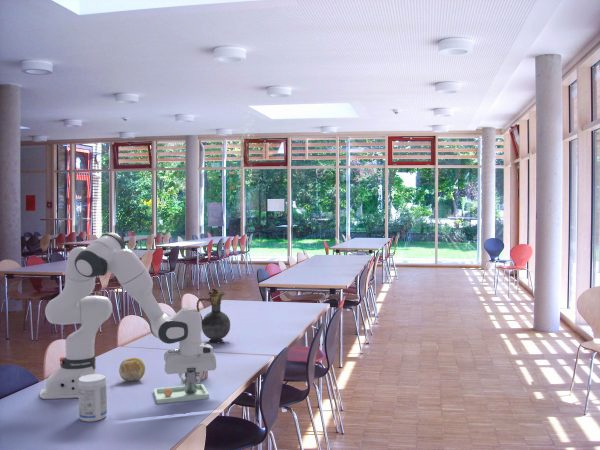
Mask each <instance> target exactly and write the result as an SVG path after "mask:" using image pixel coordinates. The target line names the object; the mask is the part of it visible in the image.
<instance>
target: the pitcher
mask: <svg viewBox="0 0 600 450" xmlns="http://www.w3.org/2000/svg"><path fill="white" fill-rule="evenodd" d="M211 290H212V292H211V291H208V293H207V294H208V296H209V297H208V298H207V297H200V298H198V299H197V302H196V310H198V311H199V312H200V308H199V306H200V305H199V304H200V302H202V301H204V302H209V303H210V305H211V311H210V312H207V314H205V316H204V317H203V316H202V315H201V322H202V331H201V332H202V333H203V335H204V336H205V337H206V338H208V342H209V343H211V344H220V343H223V342H224V339H223V338H225V337H227V336H228V334H229V332H230V329H231V319H230V318H229V316H228V315H227V314H226V313H224V312H222V311H221V304H222V302H221V300H222V297H223V296H227V295H228V294H227V293H226V292H223V291H220V292H219V290H218V289H215V288H211ZM200 313H201V312H200Z"/></svg>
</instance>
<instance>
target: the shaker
mask: <svg viewBox="0 0 600 450" xmlns="http://www.w3.org/2000/svg"><path fill="white" fill-rule="evenodd" d="M195 371H196V368H187V373H184V378H185V384H184V386H185V393H186V394H194V393H196V392H197V384H198V383H197V372H195Z"/></svg>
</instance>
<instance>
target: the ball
mask: <svg viewBox="0 0 600 450" xmlns="http://www.w3.org/2000/svg"><path fill="white" fill-rule="evenodd" d="M166 388H167V387H166ZM164 395H165V396H167V397H169V396H171V395H172V390H171V389H170V388H167V389H165V391H164Z"/></svg>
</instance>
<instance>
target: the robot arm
mask: <svg viewBox="0 0 600 450" xmlns="http://www.w3.org/2000/svg"><path fill="white" fill-rule="evenodd" d="M125 245H126V244H125V241H124V239H123V238H122V236H120V235H119V234H117V233H115V232H113V231H112V232H111V231H110V232H106V233H103V234H102V235H100V236H99V237H98V238H96V239H95V240H93V241H92V242H90V243H89V244H88V245H87V246H77V247H74V248H72V249H71V250H70V252H69V253H68V256H67V259H66V260H67V261H66V265H65V280H64V281H65V282H64V287H63V289H62V290H61V292H60V293H59V294H58V295H57V296H55V297H54V298H53V299H51V300H49V301H48V303H46V306H45V310H44V313H45V317H46V319H47V321H48V323H50V324H53V325H62V326H63V325H75V324H81V326H80V327H79V328H78V329H77V330H75V331H74V332H72V333H70V334H69V335H68V336H67V337H66V339H65V357H64V356H61V357H60V358H59V362H60V363H59V368H57V370H55V371H54V372H53V373H51V374H50V375H49V376H48V378H47V380H46V382H45V387H44V388H42V389H40V392H39V397H40V398H41V399H43V400H47V399H48V400H51V399H52V400H53V399H71V398H72V399H73V398H78V399H79V396H78V382H79V378H80V377H82V376H85V375H89V374H96V368H97V364H96V363H97V361H96V360H97V359H96V355H95V342H96V341H95V340H96V336H97V335H96V334H97V332H98V331H99V328H100V327H101V325H103V323H105V322H106V321H107V320H108V319H109V318H110V317H111V315H112V314H113V313H112V312H113V304H112V301H111V300H110V299H109V297H107V296H102V295H91V294H92V293H93V291H94V290H95V287H96V277H99V276H100V277H101V276H103V277H104V276H105V275H106V274H107V272H109V273H111V274H113V275H114V276H115V278H116V279H117V281H118V283H119V285H121V287H122V289H123V290H124V291H125V292H126V293H127V294H128V295H129V296H130V297H131V298H132V299H133V300H135V301H136V302H137V303H138V304H139V306H140V308H141V309H142V311H143V312H144V314H145V315H146V318H147V319H148V324H149V331H150V333H151V334H152V335H153V337H155V338H156V339H158V340H160V341H161V342H162V343H164V344H168V345H169V344H175V343H179V345H178V346H179V349H178V348H177V349H168V350H167V351H166V352H164V355H163V359H164V361H165V362H164V372H165V374H166V375H174V374H175V375H176V374H177V375H178V376H179V379H180V383H181V385H185V377H184V378H183V374H185V373H187V368H196V371H195V372H199V376H198V377H197V384H199V383H201V380H200V378H201V377H202V375H203V371H208V372H210V371H215V370H216V369H217V359H216V356H215V354H214V347H213V346H212V345H211V344H209V343H205V342H203V338H202V332H203V331H202V320H201V316H202V314H201V312H199V311H200V310H199V311H198V310H197V308H191V307H183V308H181V309H180V310H179V311H177V312H175V314H173V315H170V314H169V313H167V312H164V310H163V309H162V308H161V306H160V304H159V303H158V301H157V300H156V298H155V296H154V295H153V287H154V282H153V278H152V277H151V273H149V270H148V268H147V267H146V266H145V264H144V263H143V262H142V261H141V259H140V258H139V257H138V255H136V254H135V253H134V251H133V250H131V249H129V248H126V246H125Z"/></svg>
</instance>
